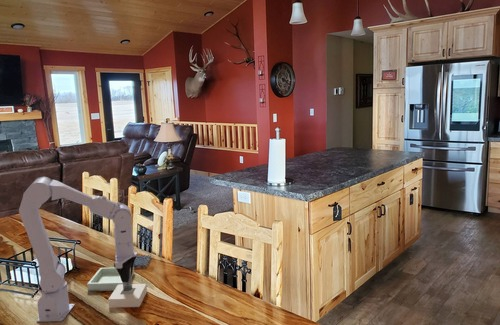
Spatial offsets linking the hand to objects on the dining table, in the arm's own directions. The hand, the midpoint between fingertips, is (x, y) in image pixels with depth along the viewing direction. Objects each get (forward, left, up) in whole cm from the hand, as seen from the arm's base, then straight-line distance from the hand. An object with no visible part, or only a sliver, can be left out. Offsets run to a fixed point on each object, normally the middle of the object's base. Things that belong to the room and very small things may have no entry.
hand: (127, 279), depth 131 cm
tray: (+13, +10, -7) cm, 18 cm away
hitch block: (0, 0, -7) cm, 7 cm away
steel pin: (0, 0, -4) cm, 4 cm away
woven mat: (+29, +5, -8) cm, 31 cm away
